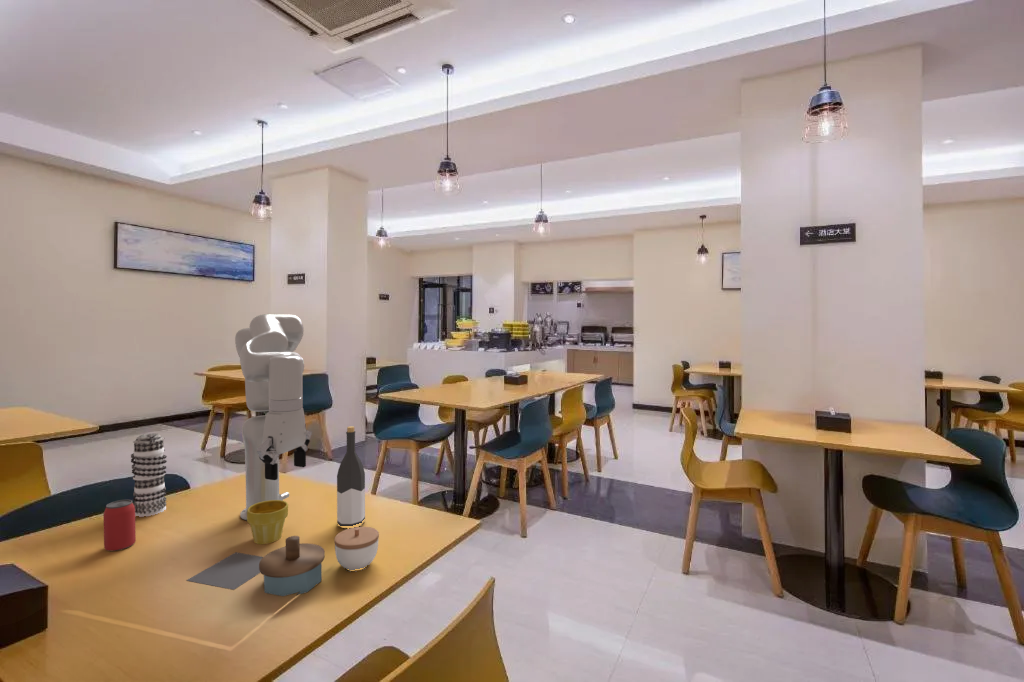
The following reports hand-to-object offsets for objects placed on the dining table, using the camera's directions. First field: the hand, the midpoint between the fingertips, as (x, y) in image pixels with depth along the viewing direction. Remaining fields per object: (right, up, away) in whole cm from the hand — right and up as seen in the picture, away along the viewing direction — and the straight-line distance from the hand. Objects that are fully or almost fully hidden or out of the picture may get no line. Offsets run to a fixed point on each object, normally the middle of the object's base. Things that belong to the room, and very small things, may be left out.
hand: (286, 472), depth 115 cm
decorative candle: (-61, -23, +34) cm, 74 cm away
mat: (-12, -24, -2) cm, 27 cm away
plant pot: (-13, -24, +15) cm, 31 cm away
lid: (+5, -19, -6) cm, 21 cm away
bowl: (+5, -24, -6) cm, 25 cm away
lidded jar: (+17, -24, +2) cm, 30 cm away
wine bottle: (+7, -24, +26) cm, 36 cm away
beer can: (-51, -24, +11) cm, 57 cm away
